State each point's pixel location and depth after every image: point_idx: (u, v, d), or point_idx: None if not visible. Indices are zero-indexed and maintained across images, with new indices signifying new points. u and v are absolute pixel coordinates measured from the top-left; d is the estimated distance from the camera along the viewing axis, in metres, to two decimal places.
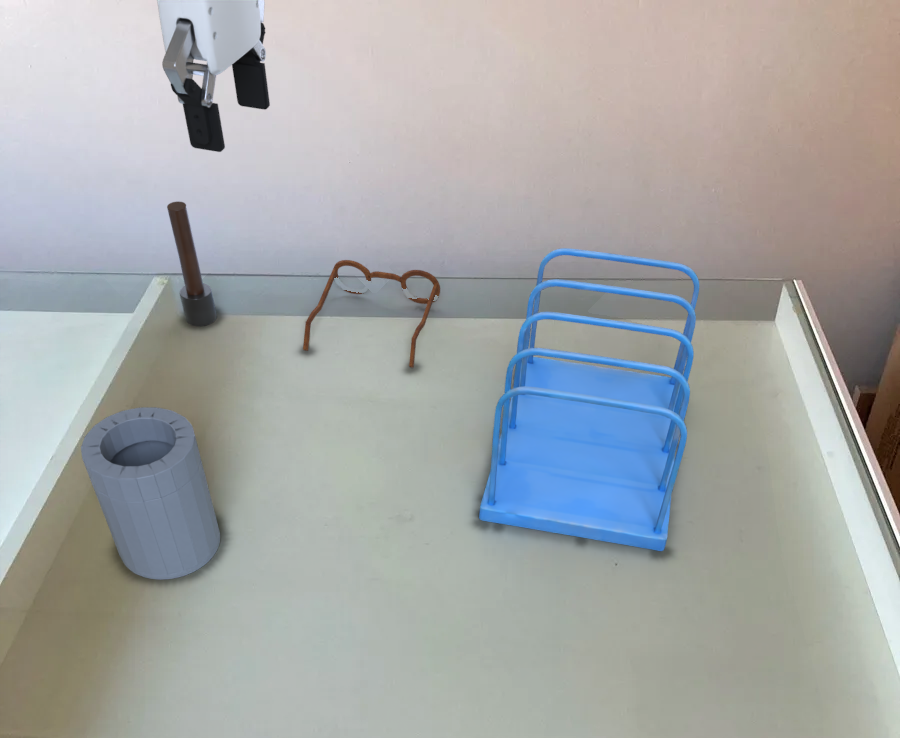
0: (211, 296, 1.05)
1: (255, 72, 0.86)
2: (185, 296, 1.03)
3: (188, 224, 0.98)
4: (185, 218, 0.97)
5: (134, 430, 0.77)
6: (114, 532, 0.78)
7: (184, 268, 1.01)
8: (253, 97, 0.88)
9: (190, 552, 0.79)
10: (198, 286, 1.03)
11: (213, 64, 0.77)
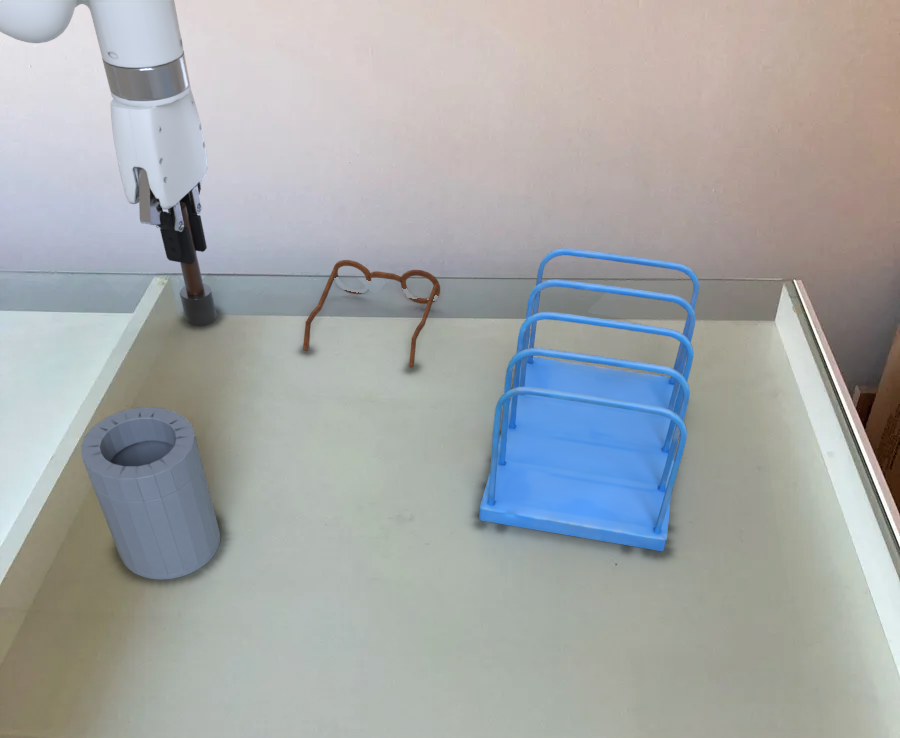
0: (211, 296, 1.05)
1: (192, 223, 0.99)
2: (185, 296, 1.03)
3: (188, 224, 0.98)
4: (185, 218, 0.97)
5: (134, 430, 0.77)
6: (114, 532, 0.78)
7: (184, 268, 1.01)
8: None
9: (190, 552, 0.79)
10: (198, 286, 1.03)
11: (165, 202, 0.91)
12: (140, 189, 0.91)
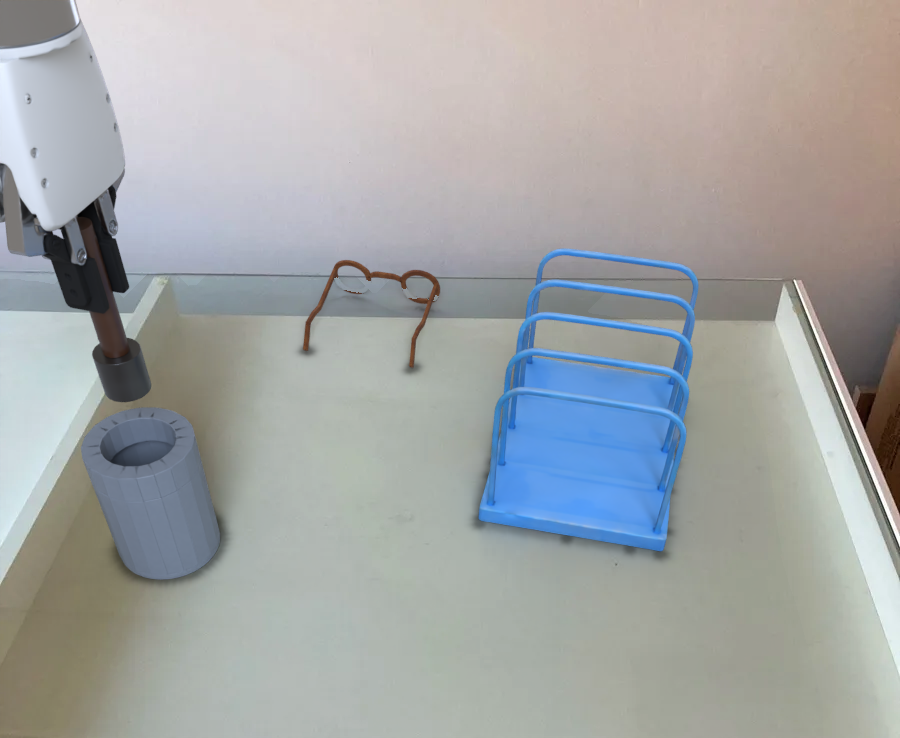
0: (141, 358, 0.69)
1: (103, 250, 0.64)
2: (100, 360, 0.68)
3: (97, 252, 0.63)
4: (91, 243, 0.62)
5: (134, 430, 0.77)
6: (114, 532, 0.78)
7: (95, 318, 0.66)
8: None
9: (190, 552, 0.79)
10: (119, 344, 0.68)
11: (47, 219, 0.56)
12: (5, 199, 0.55)
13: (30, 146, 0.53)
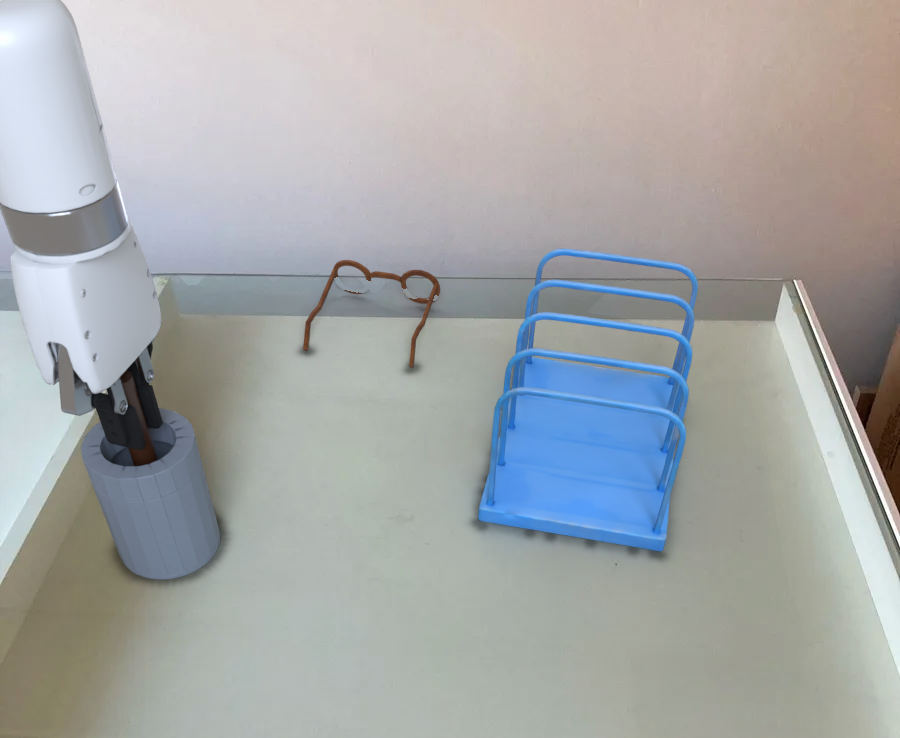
0: None
1: (141, 395, 0.72)
2: None
3: (136, 399, 0.71)
4: (131, 393, 0.70)
5: None
6: (114, 532, 0.78)
7: (133, 452, 0.74)
8: None
9: (190, 552, 0.79)
10: None
11: (96, 385, 0.64)
12: (60, 369, 0.63)
13: (84, 330, 0.61)
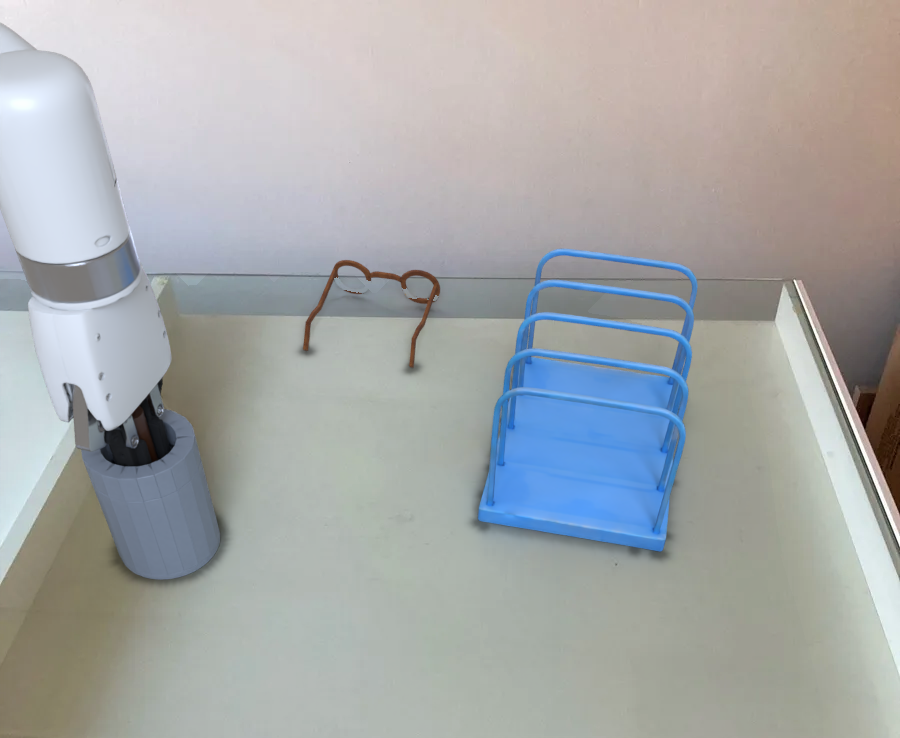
0: None
1: (151, 429, 0.74)
2: None
3: (146, 433, 0.73)
4: (142, 427, 0.72)
5: None
6: (114, 532, 0.78)
7: None
8: None
9: (190, 552, 0.79)
10: None
11: (109, 423, 0.67)
12: (74, 408, 0.66)
13: (98, 372, 0.63)
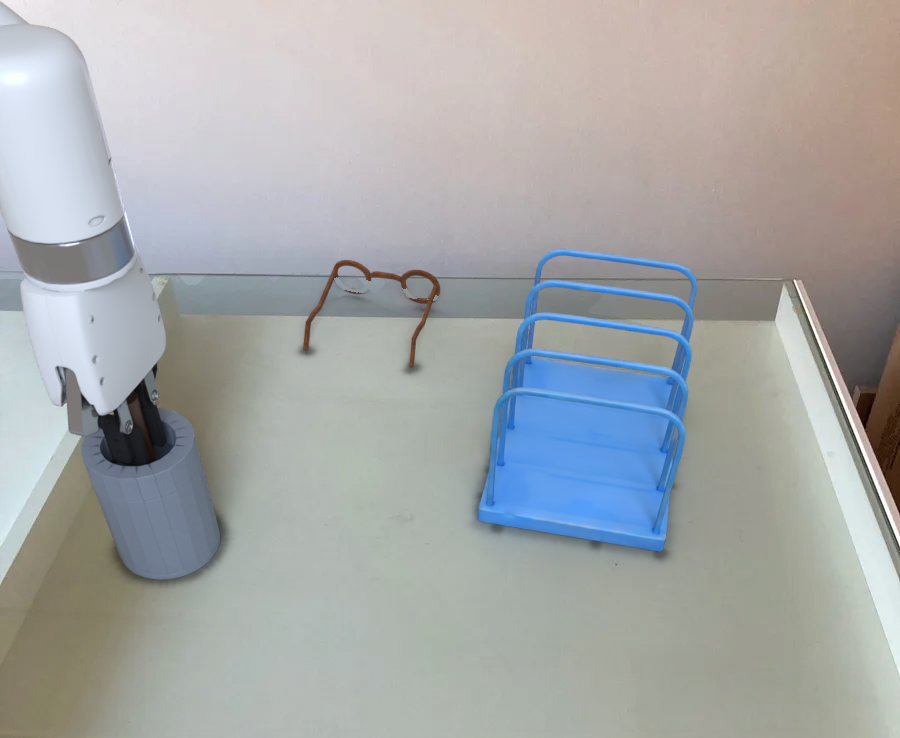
0: None
1: (146, 415, 0.73)
2: None
3: (141, 419, 0.72)
4: (136, 413, 0.71)
5: None
6: (114, 532, 0.78)
7: None
8: None
9: (190, 552, 0.79)
10: None
11: (102, 408, 0.66)
12: (68, 392, 0.65)
13: (92, 355, 0.62)
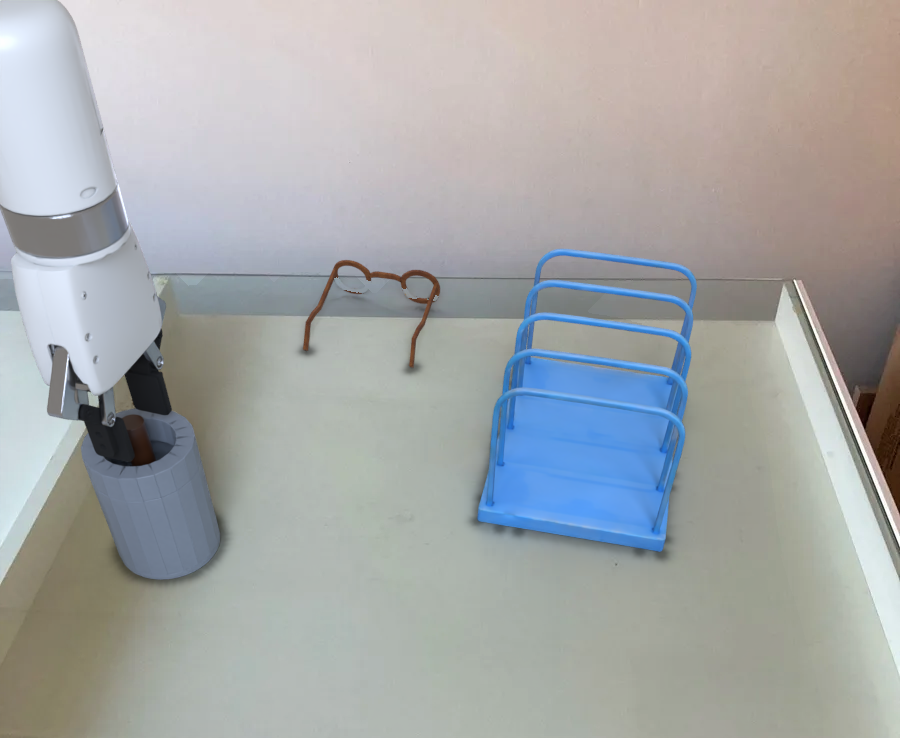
0: None
1: (151, 382, 0.72)
2: None
3: (147, 443, 0.74)
4: (143, 437, 0.73)
5: None
6: (114, 532, 0.78)
7: None
8: (151, 404, 0.74)
9: (190, 552, 0.79)
10: None
11: (96, 387, 0.64)
12: None
13: (84, 332, 0.61)
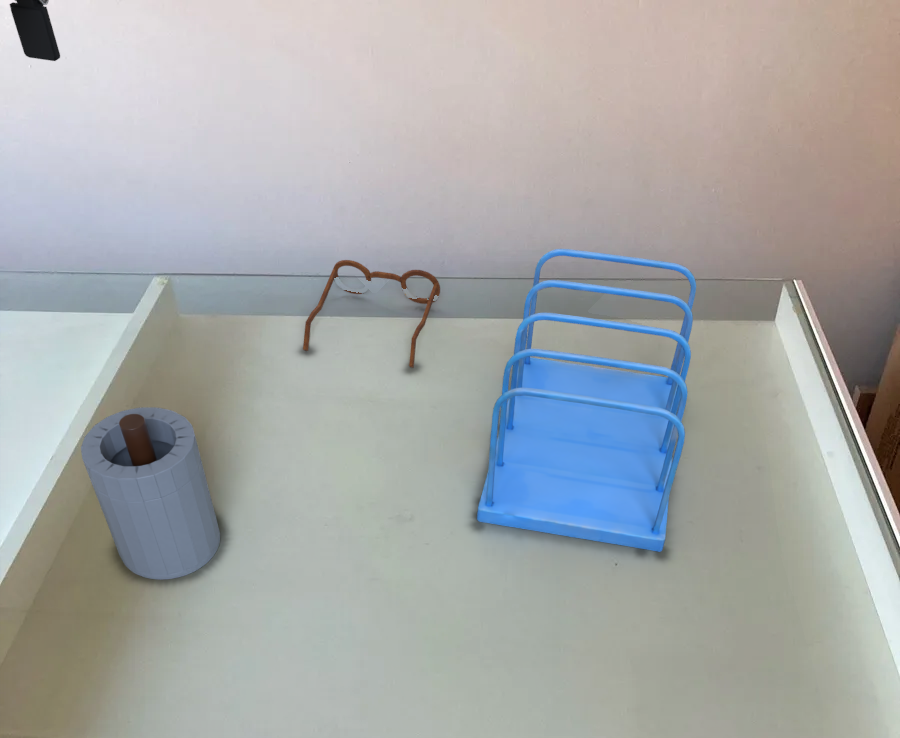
0: None
1: (36, 17, 0.76)
2: None
3: (148, 442, 0.74)
4: (143, 436, 0.73)
5: None
6: (114, 532, 0.78)
7: None
8: (39, 46, 0.78)
9: (190, 552, 0.79)
10: None
11: None
12: None
13: None
